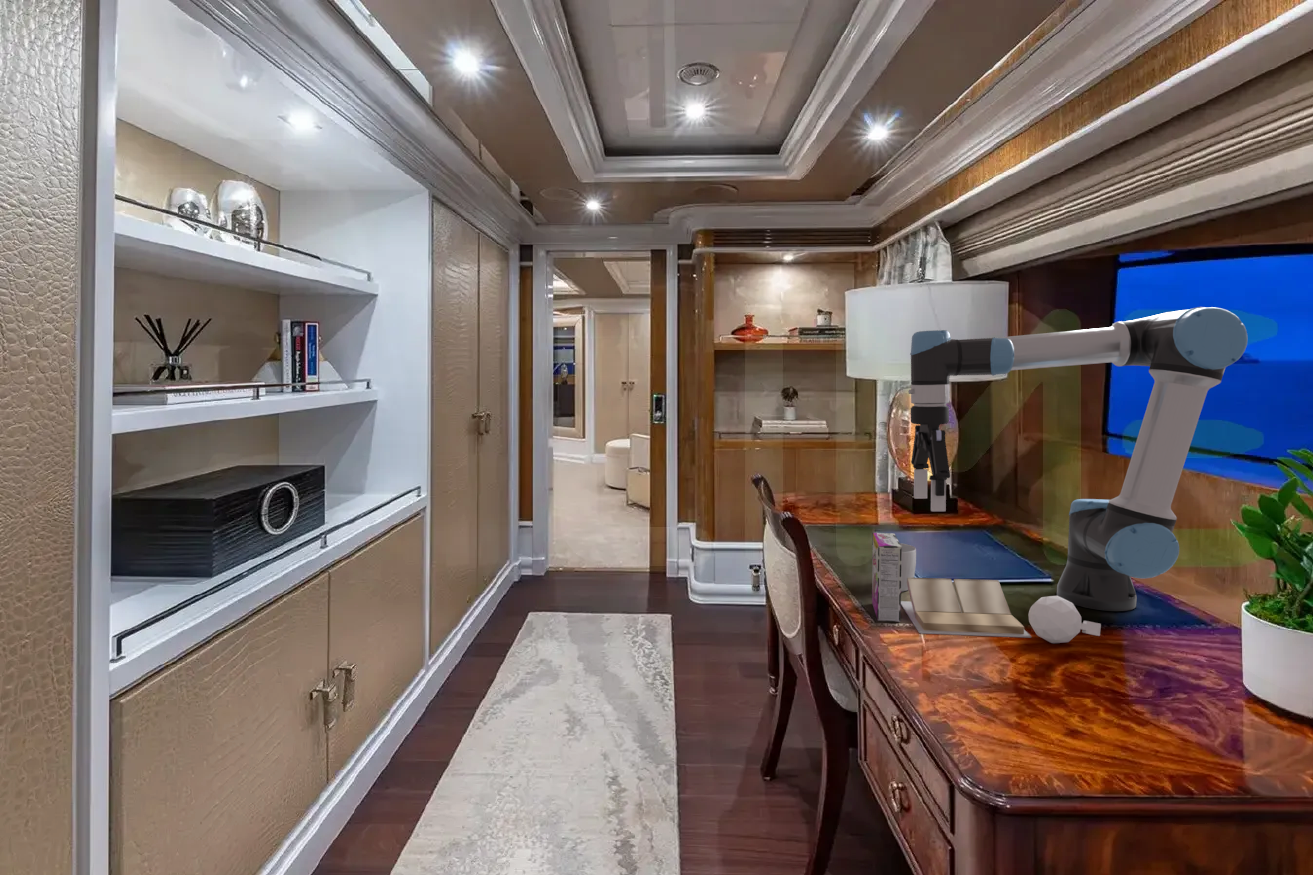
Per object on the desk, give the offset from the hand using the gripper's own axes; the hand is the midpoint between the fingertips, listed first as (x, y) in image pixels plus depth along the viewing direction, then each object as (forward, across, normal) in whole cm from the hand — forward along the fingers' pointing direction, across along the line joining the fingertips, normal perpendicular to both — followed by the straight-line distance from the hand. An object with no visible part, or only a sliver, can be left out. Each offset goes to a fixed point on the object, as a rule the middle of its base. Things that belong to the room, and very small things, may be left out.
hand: (929, 504), depth 146 cm
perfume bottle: (+24, +14, +21) cm, 35 cm away
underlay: (+24, +3, +6) cm, 25 cm away
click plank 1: (+21, 0, +1) cm, 21 cm away
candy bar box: (+24, +1, -9) cm, 25 cm away
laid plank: (+24, +8, +6) cm, 26 cm away
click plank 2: (+21, 0, +11) cm, 23 cm away
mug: (+24, -18, -2) cm, 30 cm away
